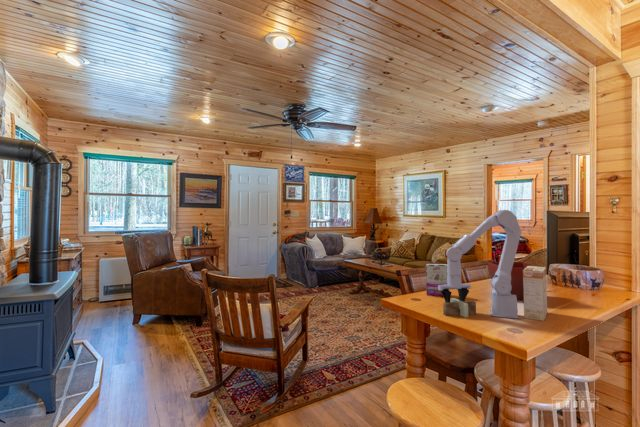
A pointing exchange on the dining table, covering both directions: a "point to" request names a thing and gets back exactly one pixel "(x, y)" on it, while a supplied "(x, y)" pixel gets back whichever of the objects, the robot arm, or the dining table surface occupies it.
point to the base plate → (453, 309)
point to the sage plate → (461, 307)
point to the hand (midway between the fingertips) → (454, 305)
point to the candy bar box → (435, 278)
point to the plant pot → (513, 276)
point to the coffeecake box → (535, 292)
